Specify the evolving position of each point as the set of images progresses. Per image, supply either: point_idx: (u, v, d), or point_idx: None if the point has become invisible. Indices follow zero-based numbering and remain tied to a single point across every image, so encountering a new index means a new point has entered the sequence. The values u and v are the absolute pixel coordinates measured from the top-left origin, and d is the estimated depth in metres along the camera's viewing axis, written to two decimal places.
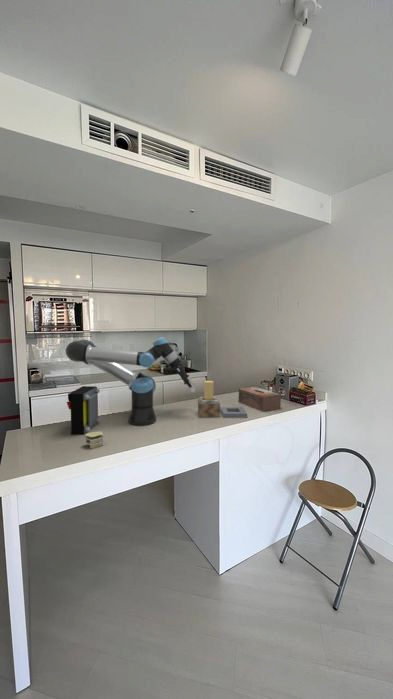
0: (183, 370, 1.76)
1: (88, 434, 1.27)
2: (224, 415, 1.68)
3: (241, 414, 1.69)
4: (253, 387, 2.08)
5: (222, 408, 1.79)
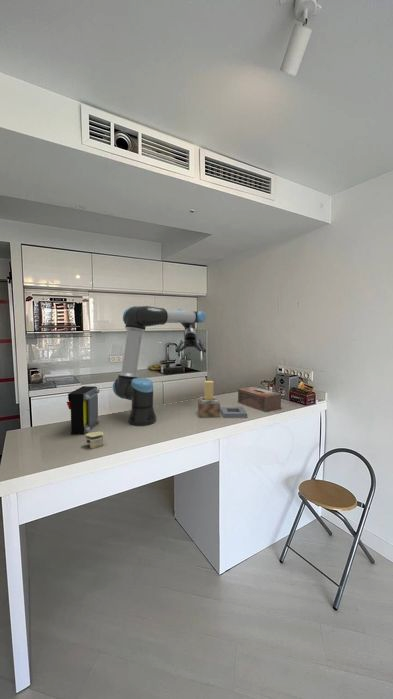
0: (186, 346, 1.96)
1: (88, 434, 1.27)
2: (224, 415, 1.68)
3: (241, 414, 1.69)
4: (252, 387, 2.07)
5: (222, 408, 1.79)
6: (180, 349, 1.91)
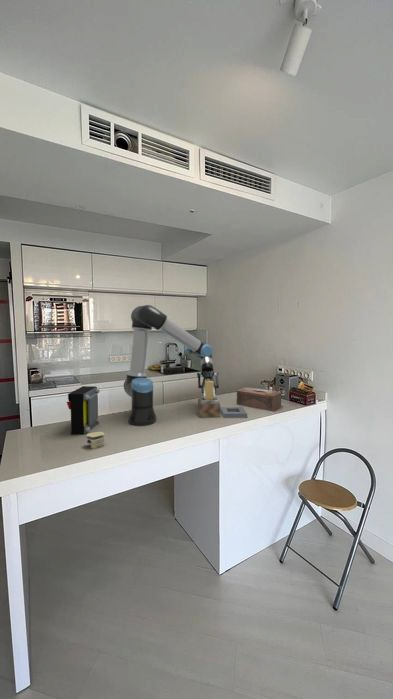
0: (205, 379, 1.80)
1: (89, 434, 1.27)
2: (224, 415, 1.68)
3: (241, 414, 1.69)
4: (246, 387, 2.06)
5: (222, 408, 1.79)
6: (203, 384, 1.74)
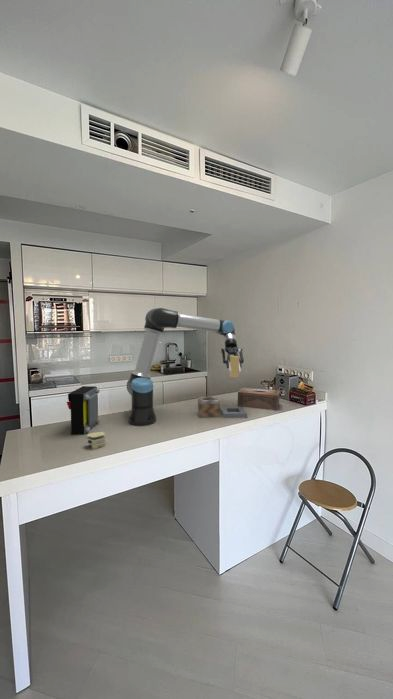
0: (229, 355, 1.80)
1: (90, 435, 1.26)
2: (224, 415, 1.68)
3: (241, 414, 1.69)
4: (243, 388, 2.04)
5: (222, 408, 1.79)
6: (228, 359, 1.74)
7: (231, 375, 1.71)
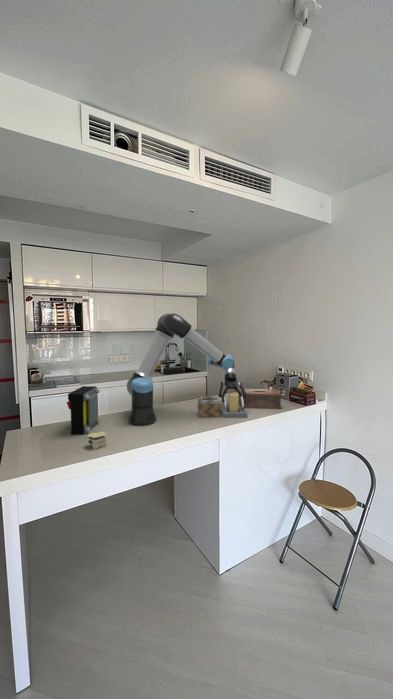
0: None
1: (90, 435, 1.26)
2: (224, 415, 1.68)
3: (241, 414, 1.69)
4: None
5: (222, 408, 1.79)
6: (224, 394, 1.76)
7: None
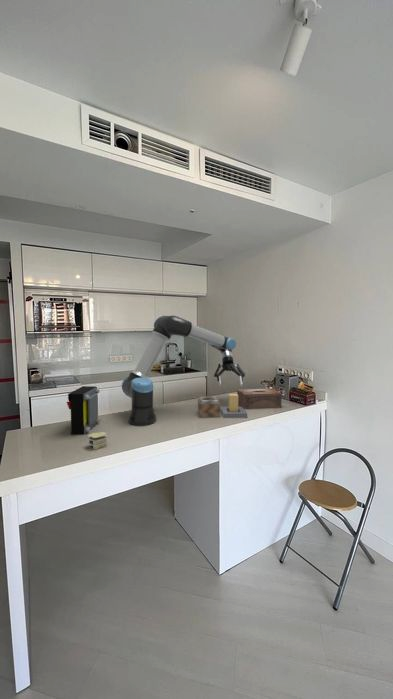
0: (224, 370, 1.93)
1: (91, 435, 1.26)
2: (224, 415, 1.68)
3: (241, 414, 1.69)
4: (240, 390, 1.98)
5: (222, 408, 1.79)
6: (219, 374, 1.88)
7: None
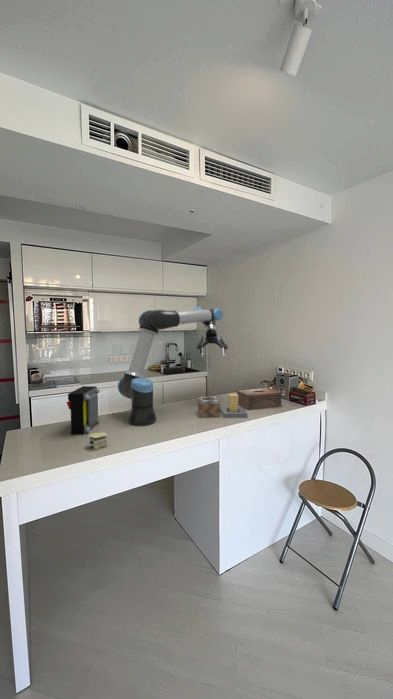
0: (207, 343, 1.95)
1: (92, 435, 1.26)
2: (224, 415, 1.68)
3: (241, 414, 1.69)
4: (240, 391, 1.95)
5: (222, 408, 1.79)
6: (202, 346, 1.90)
7: None
